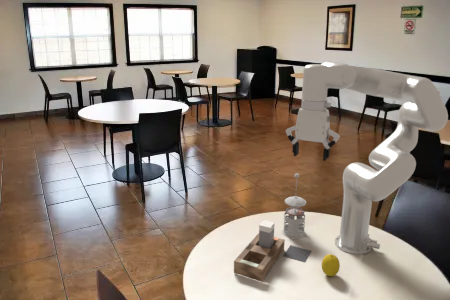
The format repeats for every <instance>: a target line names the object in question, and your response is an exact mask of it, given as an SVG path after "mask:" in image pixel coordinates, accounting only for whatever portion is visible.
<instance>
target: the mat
mask: <svg viewBox="0 0 450 300" xmlns="http://www.w3.org/2000/svg"><path fill="white" fill-rule="evenodd" d="M312 252H313V251H312V250H310V249H308V248H303V247H298V246H296V245H292V244H291V245H289V247H288V248H287V249H286V251H285V253H284V254H283V255H282V257H285V258H287V259H291V260H294V261H298V262H302V263H306V262H307V260H308V259H309V256H310V255H311V254H312Z"/></svg>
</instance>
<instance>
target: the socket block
mask: <svg viewBox="0 0 450 300" xmlns="http://www.w3.org/2000/svg"><path fill="white" fill-rule="evenodd" d="M285 242H286V241H285V239H283V238H279V237H276V236H274V246H273V247H272V249H268V248H265V247H261V246H259V232H258V233H257V234H256V235H255V237H254V238H253V239H252V240H251V241H250V242H249V243H248V245H247V246H246V247H245V248H244V249H243V250H242V251H241V252H240V254H238V256H237V257H236V258H235V260H234V261H233V274H237V275H240V276H242V277H246V278H248V279H252V280H255V281H257V282H261V283H263V281H264V279H265V278H266V276H267V275H268V273H269V272H270V270H271V269H272V268H273V266H274V265H275V264H276V263H277V261H278V259H280V256H281V255H282V254H283V252H284V251H285Z"/></svg>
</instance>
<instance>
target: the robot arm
mask: <svg viewBox="0 0 450 300" xmlns="http://www.w3.org/2000/svg"><path fill="white" fill-rule="evenodd" d="M302 71H303V72H302V73H303V74H302V86H301V87H302V88H301V90H302V91H301V105H300V106H301V107H299V109H298V112H297V117H296V122H295V125H293V126H291V127H288V128H286V129H285V133H286V136H287V139H289V141H290V143H291V145H292V150H291V151H292V153H293V157H297V156H298V155H299V153H300V152H299V150H300V143H299V141H305V142H306V141H308V142H314V143H322V144H323V145H322V146H323V147H324V148H323V153H322V155H323V156H322V160H323V161H324V162H326V161H327V159H329V158H330V153H331V152H330V151H331V148H332V147H333V146H335V145H336V143H337V142H338V140H339V139H340V137H341V135H340V134H338V133H337V132H336V131H333V130H332V129H330V124H331V123H330V122H331V121H330V111H329V108H331V107H332V103H331V102H328V99H327V98H328V90H329V89H336V90H339V89H340V90H344V89H346V90H351V91H355V92H356V93H357V92H358V93H360V94H363V95H368V96H373V97H377V98H378V97H379V98H384V99H391V100H397V101H403V102H404V103H402V105H401V106H400V107H399V110H398V120H397V124H396V125H397V126H396V128H395V130H394V131H393V132H392V133H391V134H390V135H389V136H388V137H387V138H386V139H384V140H383V141H382V142H381V143H380V144H378V145H377V146H376V147H375V148H374V149H372V151H371V152H370V153H369V154H368V162H369V164H370V166H369V165H368V164H365V163H364V162H358V161H357V162H352V163H349V164H348V165H347V166H346V167H345V168H344V170H343V172H342V173H343V174H342V184H343V185H342V186H343V201H342V211H341V219H340V220H341V222H340V228H339V229H340V230H339V235H337V236H336V237H335V238H334V245H335V246H336V247H337V249H339V250H340V251H342V252H344V253H347V254H351V255H365V254H368V253H369V252H371V250H372V248H373V249H376V250H380V247H381V244H380V243H378V240H375V239H371V237H370V233H369V229H370V220H371V213H372V205H373V202H380V201H382V200H384V199H386V198H387V197H389V196H390V195H391V194H392V193H394V192H395V191H396V190H397V189H398V188H399V187H400V188H401V186H402V185H403V184H404V183H406V182H407V181H408V180H409V179H410V178H411V177H412V175H414V172H415V170H416V166H417V161H416V158H415V157H414V156H413V154H411V151H413V150H414V149H415V148H416V146H417V144H418V139H419V129H421V130H425V131H428V132H438V131H441V130H442V129H444V128H445V127H446V125H447V123H448V120H449V114H448V109H447V107H446V105H445V103H444V101H443V99H442V97H441V95H440V93H439V91H438V89H437V87H436V86H435V84H434V82H433V81H432V80H431V79H430V78H427V77H424V76H423V77H422V76H417V75H411V74H404V73H401V72H395V71H394V72H393V71H389V70H387V69H386V70H385V69H380V68H374V67H360V66H354V65H350V64H346V63H340V62H336V61H324V62H323V63H321V64H320V63H311V64H306V65H305V66H304V67H303V70H302ZM293 131H294V133H295V134H294V135H293V134H292V132H293ZM330 136H331V137H333V139H332V140H331V141H330V140H329V138H330Z"/></svg>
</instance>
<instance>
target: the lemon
mask: <svg viewBox="0 0 450 300" xmlns="http://www.w3.org/2000/svg"><path fill="white" fill-rule="evenodd" d="M340 266H341V265H340V260H339V258H338V257H337V255H334V254H332V253H329V254H326V255H325V256H324V257H323V258H322V261H321V270H322V272H323V274H325V275H326V276H328V277H335V276H336V275H337V274H338V273H339V272H340Z"/></svg>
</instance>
